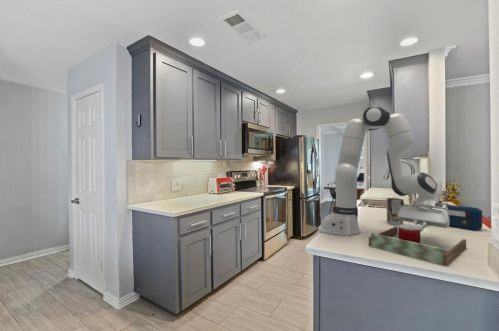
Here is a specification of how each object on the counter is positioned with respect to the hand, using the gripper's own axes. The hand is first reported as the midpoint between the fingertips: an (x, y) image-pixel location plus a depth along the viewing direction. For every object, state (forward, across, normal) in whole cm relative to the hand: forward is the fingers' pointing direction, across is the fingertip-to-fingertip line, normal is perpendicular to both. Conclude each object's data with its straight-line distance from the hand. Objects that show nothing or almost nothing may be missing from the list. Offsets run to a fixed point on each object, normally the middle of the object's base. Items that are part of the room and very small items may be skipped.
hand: (418, 230), depth 112 cm
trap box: (+7, 0, +4) cm, 8 cm away
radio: (-34, +2, +45) cm, 56 cm away
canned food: (+13, 0, -3) cm, 14 cm away
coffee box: (-19, -24, +30) cm, 43 cm away
